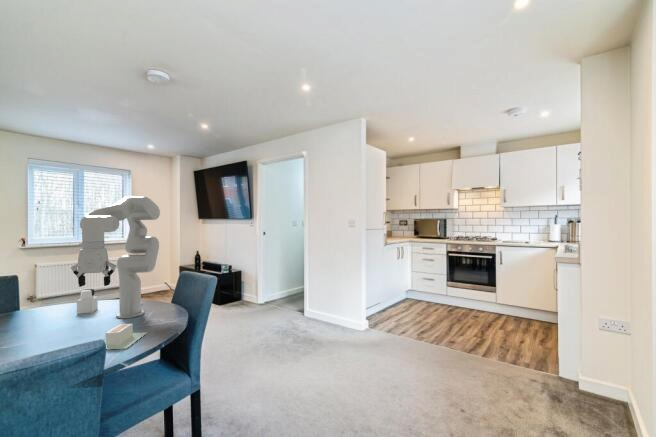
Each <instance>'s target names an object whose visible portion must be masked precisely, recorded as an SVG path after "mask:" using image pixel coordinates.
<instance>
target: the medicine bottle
mask: <svg viewBox="0 0 656 437" xmlns="http://www.w3.org/2000/svg"><path fill="white" fill-rule="evenodd" d="M98 298H99V297H98V296H95V290H94V289H93V288H87V289H82V290H81V291H80V298H79V299H78V300H77V301H76V314H77V315H79V314H81V315H82V314H89V313H90V314H92V313H94V312H96V310H98V308H99V306H98V305H99V303H98V300H99V299H98Z"/></svg>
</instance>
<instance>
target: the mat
mask: <svg viewBox="0 0 656 437" xmlns="http://www.w3.org/2000/svg"><path fill="white" fill-rule="evenodd" d="M145 334H146V335H147V334H148V332H133V336H131V337H130V338H128V339H127V340H125V341H124V342H123V343H121V344H120V345H107V350H106V351H111V350H110V349H120V350H128V349H129V348H130V347H132V346H133V345H134V344H135V342H136V341H137V340H138V341H140V340H141V339H142V338H143V336H144V335H145ZM146 335H145V336H146ZM145 336H144V337H145ZM141 337H142V338H141ZM140 338H141V339H140ZM139 339H140V340H139ZM103 340H105V342H106V338H105V339H103ZM138 341H137V342H138ZM137 342H136V343H137ZM132 344H133V345H132ZM131 345H132V346H131ZM128 347H129V348H128ZM127 348H128V349H127Z"/></svg>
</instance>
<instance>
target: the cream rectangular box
mask: <svg viewBox="0 0 656 437" xmlns="http://www.w3.org/2000/svg"><path fill="white" fill-rule="evenodd" d="M133 328H134V327H133V323H120V324H118V325H116V326H114V327H113V328H111V329H110V330H108V331H106V332H105V339H106V345H120V344H121V343H123V342H124V341H125V340H127V339H128V338H130V337H131V336H133V333H134V330H133Z"/></svg>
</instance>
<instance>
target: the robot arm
mask: <svg viewBox="0 0 656 437" xmlns="http://www.w3.org/2000/svg"><path fill="white" fill-rule="evenodd" d="M160 217H161V210H160V207H159V206H158V205H157V203H155V202H154V201H153V200H152V199H151V198H149V197H147V196H141V195H139V196H134V195H132V196H131V195H128V196H124V197H122V198H121V199H119V200H118V201H116V202H115V203H114V204H112V205H108V206H105V207H101V208H98V209H97V208H96V209H94V210H92V211H89V212H88V213H86V214H84V215H83V217H82V218H80V221H79V228H80V230H81V242H80V243H78V245H79V247H81V249H79V253H78V259H77V263H76V264H74V265H72V266H70V269H71V270H72V272H73V274H74V275H75V276H76V278H78V280H77V282H78V283H77V284H78V287H79V288H80V287H84V286H85V285H86V275H85V274H101V273H102V274H103V275H104V277H103V286H104V287H107V286H109V285H110V284H111V276H112V274H114V272H116V269H117V273H118V282H119V283H118V285H119V286H118V287H119V289H118V290H119V292H118V293H119V312H117V313H116V314H115V317H116V318H117V319H130V318H131V319H132V318H135V317H139V316H142V315H144V314H145V309H142V307H143V306H144V303H143V302H142V281H141V278H140V276H139V275H138V274H140V273H145V274H146V273H151V272H153V270H154V269H155V267H156V264H157V259H158V254H159V249H160V242H159V239H158V237H156V236H154V235H153V236H151V235H148V236H147V234H148V229H147V226H146V225H145V224H144V223H143V222H142V221H154V220H158V219H159V218H160ZM125 220H127V223H128V225H129V232H128V235H127V240H126V242H125V245H124V246H125V251H126V253H128V254H124V255H121V256H119V257H118V259H117V260H116V264H114V263H112V262H110V260H109V255H108V254H109V253H108V250H107V248H106V247H105V233H114V232H115V231H117V230H118V229H119V227H120V221H125ZM109 269H110V270H109Z"/></svg>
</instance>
